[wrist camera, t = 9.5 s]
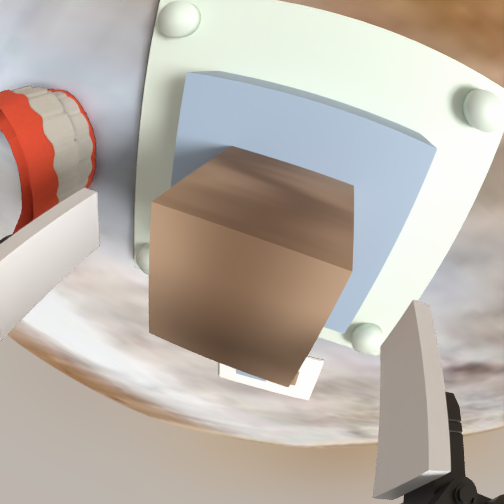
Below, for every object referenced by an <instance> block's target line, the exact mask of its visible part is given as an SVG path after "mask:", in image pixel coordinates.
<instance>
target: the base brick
mask: <svg viewBox="0 0 504 504" xmlns="http://www.w3.org/2000/svg"><path fill="white" fill-rule="evenodd" d="M231 146H234V147H238V148H241V149H245V150H248V151H251V152H255V153H258V154H262V155H265V156H268V157H271V158H275V159H278V160H281V161H284V162H287V163H290V164H294V165H297V166H300V167H303V168H306V169H309V170H312V171H315V172H317V173H320V174H323V175H326V176H329V177H332V178H335V179H337V180H340V181H343V182H346V183H348V184H351V185H354V242H353V269H352V273H351V275H350V277H349V279H348V281H347V283H346V285H345V287H344V289H343V291H342V293H341V295H340V297H339V299H338V301H337V303H336V305H335V307H334V309H333V310H332V312H331V314H330V316H329V318H328V320H327V322H326V323H325V325H324V327H325V328H328V329H331V330H334V331H337V332H340V333H343V334H345V332H346V330H347V329H348V327H349V326H350V324H351V322H352V321H353V319H354V317H355V316H356V314H357V312H358V311H359V309H360V307H361V305H362V304H363V302H364V300H365V298H366V297H367V295H368V293H369V291H370V290H371V288H372V286H373V284H374V282H375V281H376V279H377V277H378V275H379V273H380V271H381V270H382V268H383V266H384V264H385V262H386V260H387V258H388V256H389V254H390V252H391V251H392V249H393V247H394V245H395V243H396V241H397V239H398V237H399V235H400V233H401V231H402V228H403V226H404V224H405V222H406V220H407V218H408V216H409V214H410V212H411V210H412V207H413V205H414V203H415V201H416V199H417V196H418V194H419V192H420V190H421V187H422V185H423V183H424V180H425V178H426V176H427V173H428V171H429V168H430V166H431V164H432V161H433V159H434V156H435V154H436V151H437V148H436V147H435V146H434V145H433V144H432V143H430V142H429V141H428V140H427V139H426V138H425V137H424V136H423V135H421V134H420V133H418V132H416V131H414V130H412V129H409V128H407V127H405V126H402V125H400V124H398V123H395V122H393V121H390V120H388V119H385V118H383V117H380V116H378V115H375V114H373V113H370V112H367V111H365V110H362V109H359V108H356V107H353V106H351V105H348V104H345V103H342V102H339V101H336V100H333V99H330V98H327V97H323V96H320V95H317V94H314V93H310V92H307V91H303V90H300V89H296V88H293V87H289V86H285V85H281V84H277V83H273V82H269V81H265V80H261V79H256V78H252V77H247V76H243V75H238V74H233V73H228V72H222V71H198V72H187V74H186V80H185V86H184V92H183V98H182V104H181V110H180V117H179V124H178V131H177V138H176V145H175V153H174V161H173V170H172V179H171V187H172V186H174V185H175V184H177V183H178V182H179V181H181V180H182V179H184V178H185V177H186V176H188V175H189V174H191V173H192V172H194V171H195V170H197V169H198V168H199V167H201V166H202V165H204V164H205V163H207V162H208V161H210V160H211V159H213V158H214V157H216V156H217V155H219V154H220V153H222V152H223V151H225V150H226V149H228V148H229V147H231Z"/></svg>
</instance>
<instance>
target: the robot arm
mask: <svg viewBox="0 0 504 504" xmlns="http://www.w3.org/2000/svg"><path fill="white" fill-rule="evenodd" d="M99 246H100V240H99V224H98V199H97V192H96V191H93V190H90V189H87V188H83V189H81V190H80V191H78V192H76V193H75V194H73V195H71V196H70V197H68V198H67V199H65V200H63V201H62V202H60V203H59V204H57V205H56V206H54V207H53V208H51V209H50V210H48V211H46V212H45V213H43V214H42V215H40V216H39V217H38V218H36V219H35V220H33V221H32V222H30V223H29V224H27V225H26V226H25V227H23V228H22V229H20V230H19V231H18V232H16V233H14V234H11V235H9V236H7V237H4V238H3V239H1V240H0V341H2V340H3V339H4V337H5V336H6V335H7V334H8V333H9V332H10V331H11V330H12V329H13V328H14V327H15V326H16V325H17V324H18V323H19V322H20V321H21V319H22V318H23V317H24V316H25V315H26V314H27V313H28V312H29V311H30V310H31V309H32V308H33V307H34V306H35V305H36V304H37V303H38V302H39V301H40V300H41V299H42V298H43V297H44V296H45V295H46V294H47V293H48V292H50V291H51V290H52V289H53V288H54V287H55V286H56V285H57V284H58V283H59V282H60V281H61V280H62V279H63V278H64V277H65V276H66V275H68V274H69V273H70V272H71V271H72V270H73V269H74V268H75V267H76V266H77V265H78V264H80V263H81V262H82V261H83V260H84V259H85V258H86V257H87V256H89V255H90V254H91V253H92V252H93V251H94V250H95V249H96V248H98V247H99ZM380 352H381V387H380V419H379V436H378V450H377V451H378V452H377V462H376V473H375V481H374V490H373V498H377V499H389V500H393V499H396V498H398V497H400V496H403V495H404V502H403V503H401V504H504V495H500V496H498V497H496V498H494V499H490V498H487V497H485V496H483V495H480V494H478V493H477V490H476V487H475V485H474V483H473V482H472V481H471V480H470V479H469V478H467V477H465V465H464V447H463V435H462V434H461V433H462V425H461V423H460V421H461V416H460V408H459V405H458V403H457V400H456V398H455V396H454V394H453V393H449V392H445V387H444V380H443V373H442V367H441V361H440V355H439V349H438V344H437V338H436V333H435V328H434V324H433V319H432V314H431V310H430V306H429V305H428V304H425V303H422V302H419V301H416V300H412V302H411V303H410V305H409V306H408V308H407V309H406V311H405V312H404V314H403V315H402V317H401V318H400V320H399V321H398V323H397V324H396V325H395V327H394V328H393V330H392V331H391V332H390V334H389V335H388V337H387V338H386V339H385V341H384V342H383V343H382V345H381V346H380Z"/></svg>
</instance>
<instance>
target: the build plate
mask: <svg viewBox="0 0 504 504" xmlns="http://www.w3.org/2000/svg"><path fill="white" fill-rule="evenodd" d="M198 71H222V72H228V73H233V74H238V75H243V76H247V77H252V78H256V79H261V80H265V81H269V82H273V83H277V84H281V85H285V86H289V87H293V88H296V89H300V90H303V91H307V92H310V93H314V94H317V95H320V96H323V97H327V98H330V99H333V100H336V101H339V102H342V103H345V104H348V105H351V106H353V107H356V108H359V109H362V110H365V111H367V112H370V113H373V114H375V115H378V116H380V117H383V118H385V119H388V120H390V121H393V122H395V123H398V124H400V125H402V126H405V127H407V128H409V129H412V130H414V131H416V132H418V133H420V134H421V135H423V136H424V137H425V138H426V139H427V140H428V141H429V142H430V143H432V144H433V145H434V146H435V147H436V148H437V151H436V154H435V156H434V159H433V161H432V164H431V166H430V168H429V171H428V173H427V176H426V178H425V180H424V183H423V185H422V187H421V190H420V192H419V194H418V196H417V199H416V201H415V203H414V205H413V207H412V210H411V212H410V214H409V216H408V218H407V220H406V222H405V224H404V226H403V228H402V231H401V233H400V235H399V237H398V239H397V241H396V243H395V245H394V247H393V249H392V251H391V252H390V254H389V256H388V258H387V260H386V262H385V264H384V266H383V268H382V270H381V271H380V273H379V275H378V277H377V279H376V281H375V282H374V284H373V286H372V288H371V290H370V291H369V293H368V295H367V297H366V298H365V300H364V302H363V304H362V305H361V307H360V309H359V311H358V312H357V314H356V316H355V317H354V319H353V321H352V322H351V324H350V326H349V327H348V329H347V330H346V332H345V334H343V333H340V332H337V331H334V330H331V329H328V328H325V327H323V329H322V331H321V332H320V334H319V336H318V337H320V338H323V339H326V340H329V341H332V342H335V343H338V344H341V345H344V346H347V347H350V348H353V349H355V350H356V351H358V352H360V353H365V354H368V353H369V354H373V355H376V356H378V355H379V354H380V353H381V352H380V346H381V345H382V343H383V342H384V341H385V339H386V338H387V337H388V335H389V334H390V332H391V331H392V330H393V328H394V327H395V325H396V324H397V323H398V321H399V320H400V318H401V317H402V315H403V314H404V312H405V311H406V309H407V308H408V306H409V305H410V303H411V302H412V300H416V301H418V299H419V298H420V296H421V295H422V293H423V291H424V290H425V288H426V287H427V285H428V284H429V282H430V280H431V279H432V277H433V276H434V274H435V272H436V271H437V269H438V267H439V266H440V264H441V262H442V261H443V259H444V257H445V255H446V254H447V252H448V250H449V248H450V247H451V245H452V243H453V241H454V239H455V238H456V236H457V234H458V232H459V230H460V228H461V226H462V224H463V223H464V221H465V219H466V217H467V215H468V213H469V211H470V209H471V207H472V205H473V203H474V201H475V198H476V196H477V194H478V192H479V190H480V188H481V186H482V183H483V181H484V179H485V177H486V174H487V172H488V170H489V167H490V165H491V163H492V160H493V158H494V155H495V153H496V150H497V148H498V145H499V142H500V140H501V137H502V134H503V132H504V88H502V87H501V86H499V85H497V84H496V83H494V82H493V81H491V80H489V79H488V78H486V77H484V76H483V75H481V74H479V73H478V72H476V71H474V70H472V69H470V68H469V67H467V66H465V65H463V64H461V63H459V62H458V61H456V60H454V59H452V58H450V57H448V56H446V55H444V54H442V53H440V52H438V51H436V50H433V49H431V48H429V47H427V46H425V45H422V44H420V43H418V42H416V41H413V40H411V39H408V38H406V37H404V36H401V35H399V34H396V33H393V32H391V31H388V30H385V29H383V28H380V27H377V26H374V25H371V24H368V23H365V22H362V21H359V20H356V19H353V18H349V17H346V16H343V15H339V14H335V13H332V12H328V11H324V10H320V9H316V8H312V7H307V6H303V5H298V4H293V3H288V2H283V1H277V0H160V3H159V8H158V12H157V17H156V22H155V27H154V32H153V37H152V43H151V48H150V54H149V60H148V67H147V73H146V80H145V87H144V95H143V103H142V112H141V121H140V131H139V143H138V155H137V171H136V190H135V224H134V262H135V267H136V268H138V269H141V270H142V271H143V272H144V273H146V274H148V275H149V247H150V222H151V205H152V201H153V200H155V199H156V198H157V197H159V196H160V195H161V194H163V193H164V192H166V191H167V190H168V189H170V188H171V179H172V170H173V161H174V153H175V145H176V138H177V131H178V124H179V117H180V110H181V104H182V98H183V92H184V86H185V80H186V74H187V72H198Z"/></svg>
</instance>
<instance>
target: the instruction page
mask: <svg viewBox="0 0 504 504" xmlns="http://www.w3.org/2000/svg"><path fill="white" fill-rule="evenodd" d="M323 364H324V360H321V359H317V358H313V357H308V356H307V357H306V359H305V361H304V362H303V364H302V366H301V367H300V369H299V371H298V372H297V374H296V376H295V377H294V379H293V381H292V382H291V384H290V386H289V387H285V386H282V385H279V384H276V383H273V382H270V381H267V380H264V379H262V378H259V377H256V376H253V375H250V374H248V373H245V372H242V371H240V370H237V369H234V368H232V367H229V366H227V365H224V364H221V363H220V377H223V378H226V379H229V380H233V381H236V382H240V383H243V384H247V385H250V386H254V387H257V388H261V389H265V390H268V391H272V392H276V393H280V394H284V395H288V396H292V397H297V398H301V399H305V400H309V398H310V395H311V393H312V391H313V388H314V386H315V383H316V381H317V379H318V376H319V374H320V371H321V369H322V366H323Z"/></svg>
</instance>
